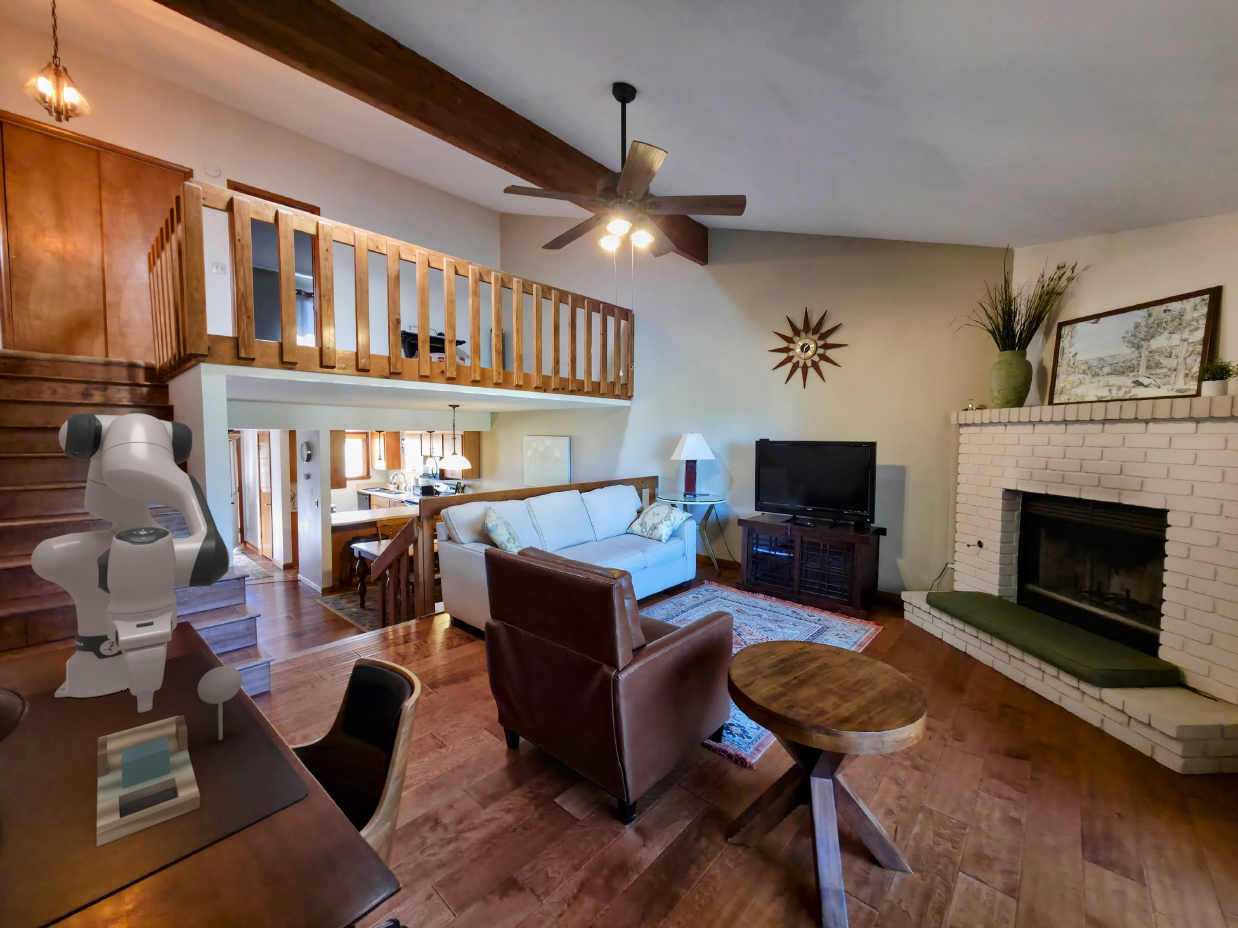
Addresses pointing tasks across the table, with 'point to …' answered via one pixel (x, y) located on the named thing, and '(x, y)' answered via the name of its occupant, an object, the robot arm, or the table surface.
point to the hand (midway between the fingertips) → (143, 699)
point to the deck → (150, 798)
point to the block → (145, 762)
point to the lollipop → (219, 689)
